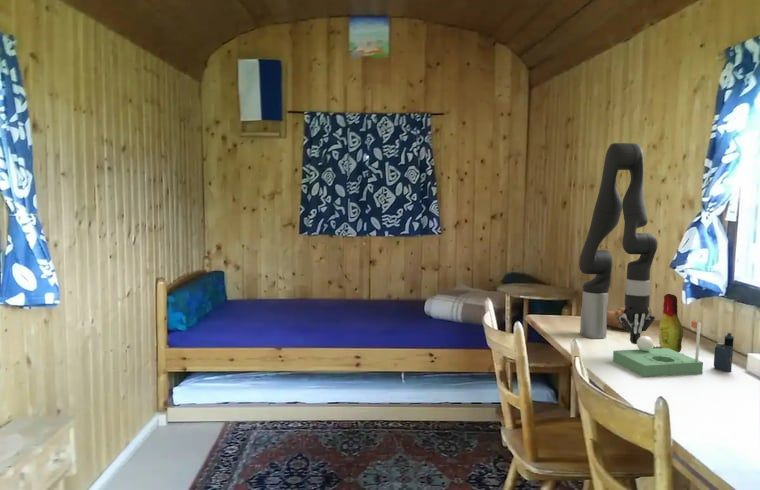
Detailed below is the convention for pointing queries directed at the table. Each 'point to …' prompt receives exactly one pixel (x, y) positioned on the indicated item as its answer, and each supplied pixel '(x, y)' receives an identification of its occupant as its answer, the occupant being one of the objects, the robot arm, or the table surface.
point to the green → (660, 360)
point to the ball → (645, 343)
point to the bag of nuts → (615, 318)
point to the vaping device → (724, 354)
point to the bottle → (670, 325)
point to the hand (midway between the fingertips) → (634, 343)
